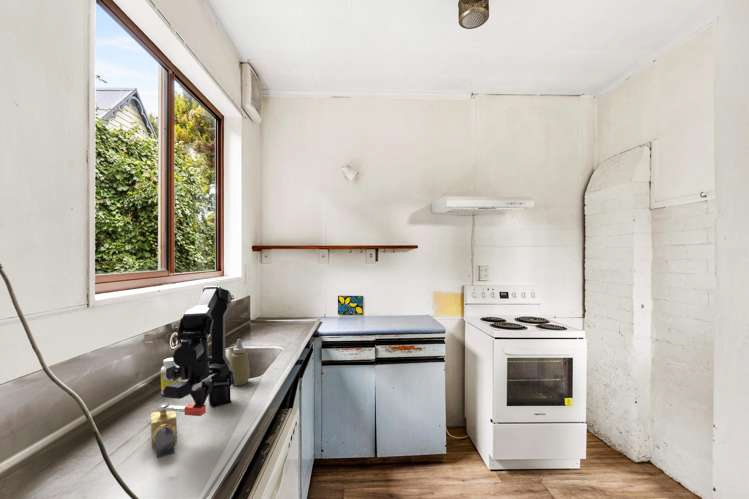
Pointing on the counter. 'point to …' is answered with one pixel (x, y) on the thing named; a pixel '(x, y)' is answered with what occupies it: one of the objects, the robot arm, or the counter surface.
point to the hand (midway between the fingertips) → (200, 409)
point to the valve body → (163, 432)
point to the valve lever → (184, 409)
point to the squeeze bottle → (240, 364)
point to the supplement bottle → (164, 381)
